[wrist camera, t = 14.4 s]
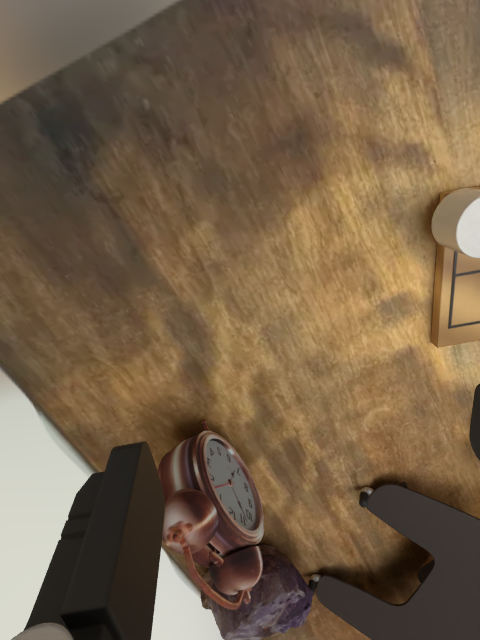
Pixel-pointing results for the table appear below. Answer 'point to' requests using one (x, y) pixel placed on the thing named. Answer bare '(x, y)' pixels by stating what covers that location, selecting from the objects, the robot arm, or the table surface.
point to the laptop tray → (438, 576)
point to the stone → (459, 222)
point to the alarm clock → (213, 514)
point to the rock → (264, 601)
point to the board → (455, 296)
